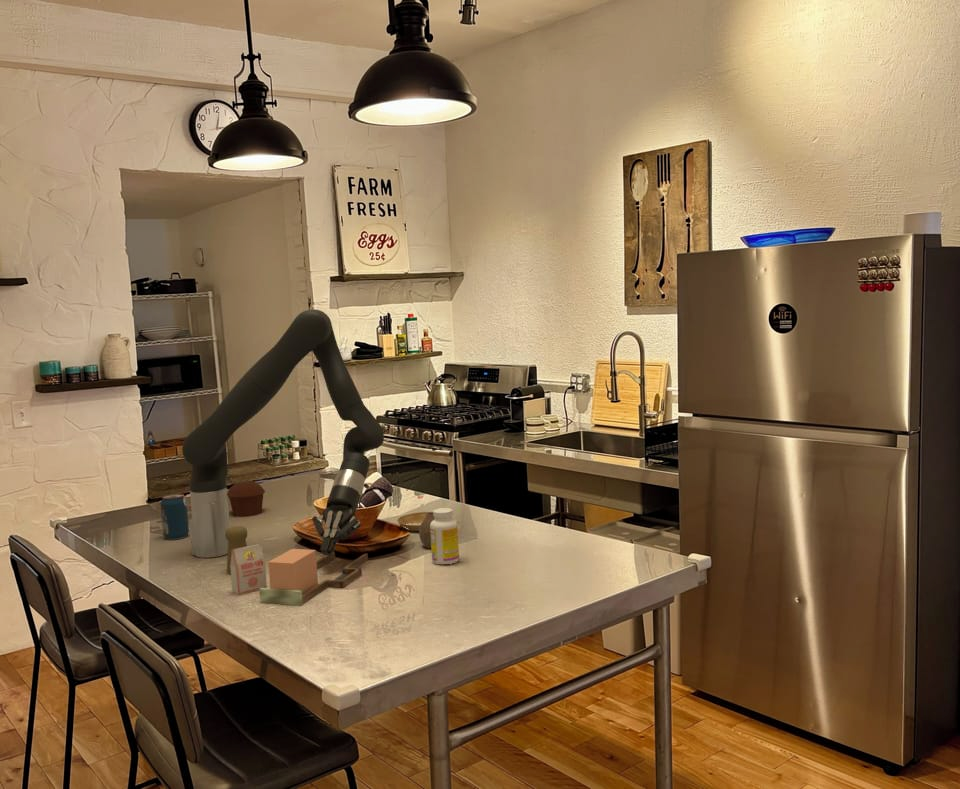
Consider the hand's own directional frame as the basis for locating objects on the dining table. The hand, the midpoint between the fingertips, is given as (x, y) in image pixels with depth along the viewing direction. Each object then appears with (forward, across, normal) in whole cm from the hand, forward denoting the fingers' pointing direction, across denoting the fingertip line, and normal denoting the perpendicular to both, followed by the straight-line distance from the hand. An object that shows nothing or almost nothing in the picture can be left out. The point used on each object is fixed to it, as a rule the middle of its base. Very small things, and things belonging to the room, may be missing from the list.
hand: (325, 553), depth 206 cm
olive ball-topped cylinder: (+5, -23, +2) cm, 24 cm away
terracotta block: (+14, 0, -7) cm, 16 cm away
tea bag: (+13, -12, -6) cm, 19 cm away
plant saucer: (-27, +6, +35) cm, 45 cm away
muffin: (-31, -56, +38) cm, 74 cm away
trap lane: (+6, 0, 0) cm, 6 cm away
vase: (-15, +17, +22) cm, 31 cm away
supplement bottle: (-6, +25, +14) cm, 29 cm away
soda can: (-12, -60, +18) cm, 64 cm away
